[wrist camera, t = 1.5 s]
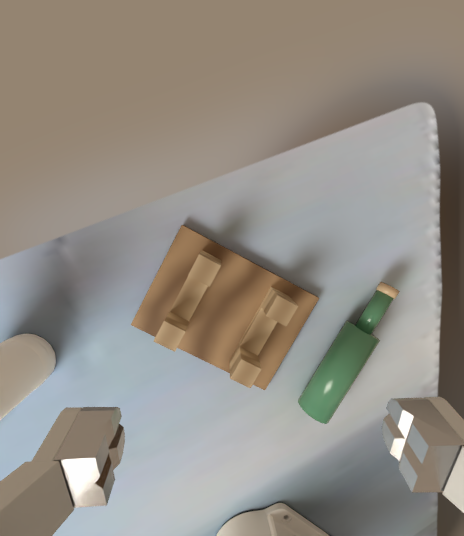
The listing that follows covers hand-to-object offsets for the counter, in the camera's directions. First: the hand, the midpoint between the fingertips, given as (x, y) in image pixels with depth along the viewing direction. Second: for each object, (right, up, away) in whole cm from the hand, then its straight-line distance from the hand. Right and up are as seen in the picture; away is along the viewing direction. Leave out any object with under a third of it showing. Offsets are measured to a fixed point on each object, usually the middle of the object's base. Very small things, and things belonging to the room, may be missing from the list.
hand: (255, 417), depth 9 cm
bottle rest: (-2, -2, +35) cm, 35 cm away
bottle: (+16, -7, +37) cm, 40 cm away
